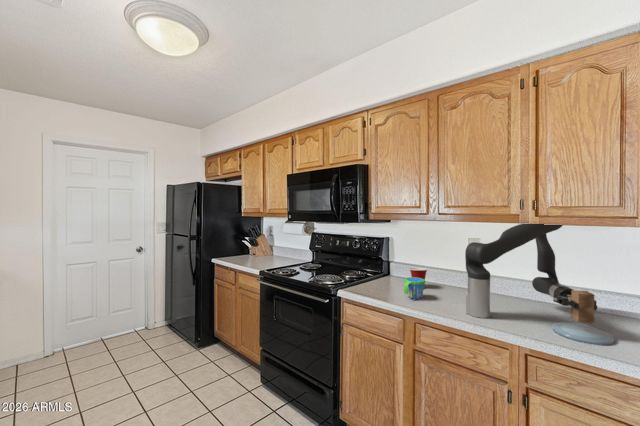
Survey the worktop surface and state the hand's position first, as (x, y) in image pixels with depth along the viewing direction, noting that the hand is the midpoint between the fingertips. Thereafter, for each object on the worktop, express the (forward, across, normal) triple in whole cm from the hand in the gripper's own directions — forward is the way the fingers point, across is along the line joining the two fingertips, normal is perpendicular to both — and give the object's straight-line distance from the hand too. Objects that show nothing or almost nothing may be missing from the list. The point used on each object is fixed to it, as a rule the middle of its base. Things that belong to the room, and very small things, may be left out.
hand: (586, 307), depth 113 cm
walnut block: (-3, 0, +6) cm, 7 cm away
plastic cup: (-58, -58, +12) cm, 83 cm away
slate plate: (-2, 0, +12) cm, 12 cm away
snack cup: (-35, -61, +12) cm, 71 cm away
